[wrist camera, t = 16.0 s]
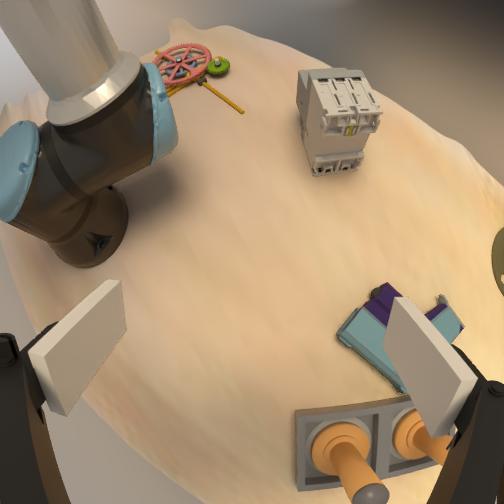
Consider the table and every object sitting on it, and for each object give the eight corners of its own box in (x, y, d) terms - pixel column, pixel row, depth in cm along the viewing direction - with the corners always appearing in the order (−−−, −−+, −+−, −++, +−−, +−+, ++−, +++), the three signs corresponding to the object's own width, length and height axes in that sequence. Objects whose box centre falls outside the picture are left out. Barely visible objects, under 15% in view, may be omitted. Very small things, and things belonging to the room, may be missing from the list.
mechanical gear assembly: (181, 37, 60) (130, 73, 58) (177, 24, 56) (123, 61, 54) (274, 92, 53) (212, 140, 52) (273, 78, 49) (207, 126, 48)
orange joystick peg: (310, 472, 36) (327, 535, 20) (310, 424, 38) (331, 473, 22) (364, 465, 35) (404, 519, 19) (366, 417, 37) (414, 457, 21)
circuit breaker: (332, 104, 51) (345, 43, 37) (357, 170, 48) (383, 113, 33) (292, 108, 51) (296, 45, 37) (313, 176, 48) (326, 117, 33)
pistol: (458, 320, 41) (405, 398, 39) (393, 257, 44) (332, 336, 42) (472, 318, 37) (417, 403, 35) (403, 250, 40) (339, 336, 38)
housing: (296, 481, 36) (297, 491, 33) (295, 409, 39) (297, 416, 36) (441, 453, 35) (451, 459, 32) (446, 386, 38) (457, 388, 35)
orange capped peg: (390, 460, 35) (438, 508, 19) (392, 412, 37) (449, 446, 21) (435, 448, 35) (494, 484, 19) (439, 402, 37) (506, 424, 21)
